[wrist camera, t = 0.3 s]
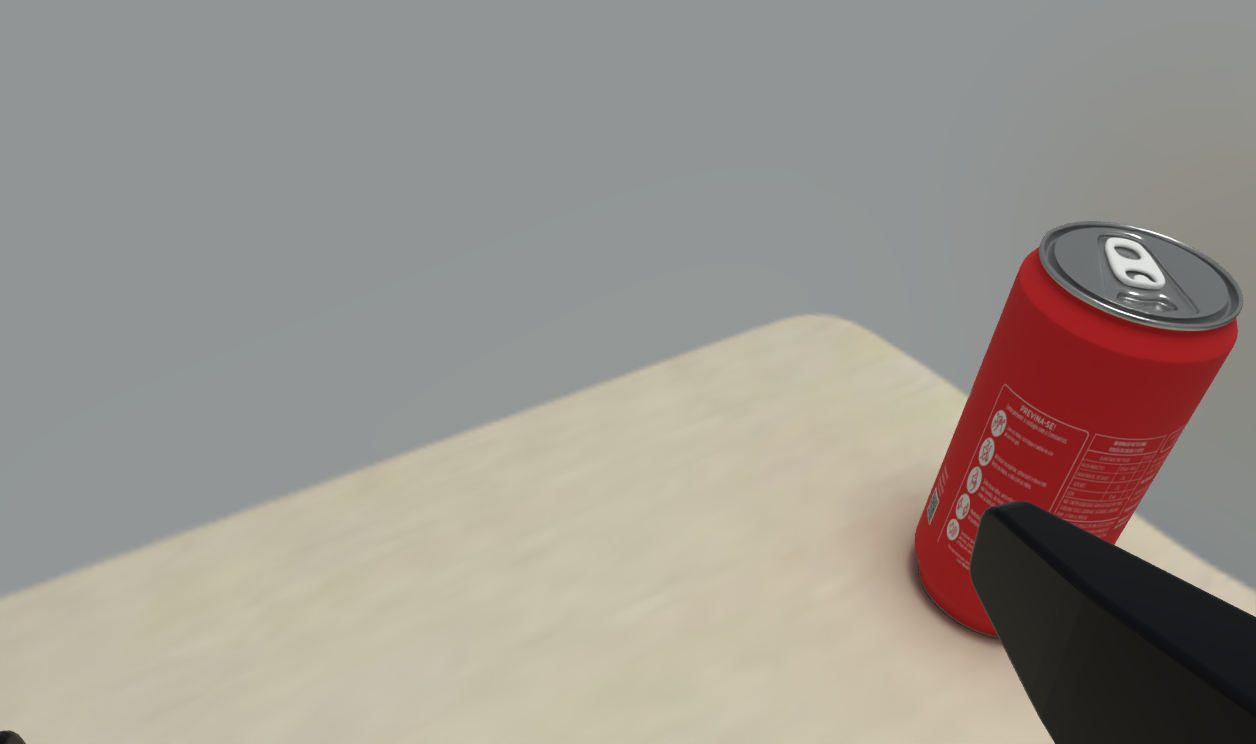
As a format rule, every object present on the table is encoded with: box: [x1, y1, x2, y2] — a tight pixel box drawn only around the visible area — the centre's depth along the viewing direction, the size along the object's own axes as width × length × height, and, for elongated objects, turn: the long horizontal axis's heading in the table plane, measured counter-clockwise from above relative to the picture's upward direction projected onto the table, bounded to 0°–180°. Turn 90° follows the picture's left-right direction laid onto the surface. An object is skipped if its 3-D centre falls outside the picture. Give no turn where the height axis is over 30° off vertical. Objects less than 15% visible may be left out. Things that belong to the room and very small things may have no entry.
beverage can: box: [915, 221, 1243, 638], centre depth 27 cm, size 5×5×12 cm
